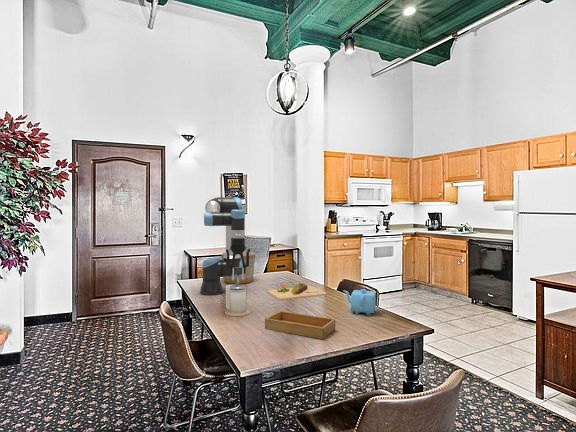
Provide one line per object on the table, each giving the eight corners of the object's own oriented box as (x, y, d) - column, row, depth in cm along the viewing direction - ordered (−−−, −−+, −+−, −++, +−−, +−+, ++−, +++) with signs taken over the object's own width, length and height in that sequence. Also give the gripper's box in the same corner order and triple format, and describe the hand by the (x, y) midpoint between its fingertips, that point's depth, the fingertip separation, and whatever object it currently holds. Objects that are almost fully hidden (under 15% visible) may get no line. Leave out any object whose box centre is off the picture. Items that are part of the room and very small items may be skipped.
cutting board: (279, 301, 230) (279, 289, 230) (266, 292, 251) (266, 282, 251) (327, 295, 244) (328, 284, 244) (311, 288, 266) (311, 278, 265)
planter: (222, 278, 296) (222, 251, 296) (254, 277, 299) (254, 251, 299) (220, 285, 271) (220, 256, 270) (255, 284, 273) (255, 255, 273)
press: (224, 309, 208) (224, 286, 208) (248, 308, 212) (248, 285, 211) (226, 317, 195) (226, 292, 194) (252, 315, 198) (252, 290, 198)
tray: (264, 329, 178) (264, 317, 178) (280, 320, 191) (280, 309, 191) (322, 341, 163) (322, 328, 163) (335, 330, 176) (335, 319, 176)
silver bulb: (229, 286, 206) (229, 266, 205) (244, 285, 208) (244, 266, 207) (230, 289, 198) (230, 269, 197) (246, 289, 200) (246, 268, 199)
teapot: (375, 309, 210) (376, 287, 210) (372, 317, 196) (373, 293, 195) (344, 306, 216) (344, 285, 216) (339, 314, 202) (339, 290, 201)
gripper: (222, 238, 196) (222, 281, 197) (254, 237, 200) (254, 280, 201) (221, 237, 203) (221, 278, 204) (252, 236, 208) (252, 277, 208)
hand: (237, 279), depth 202 cm, fingers closed on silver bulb, 5 cm apart
